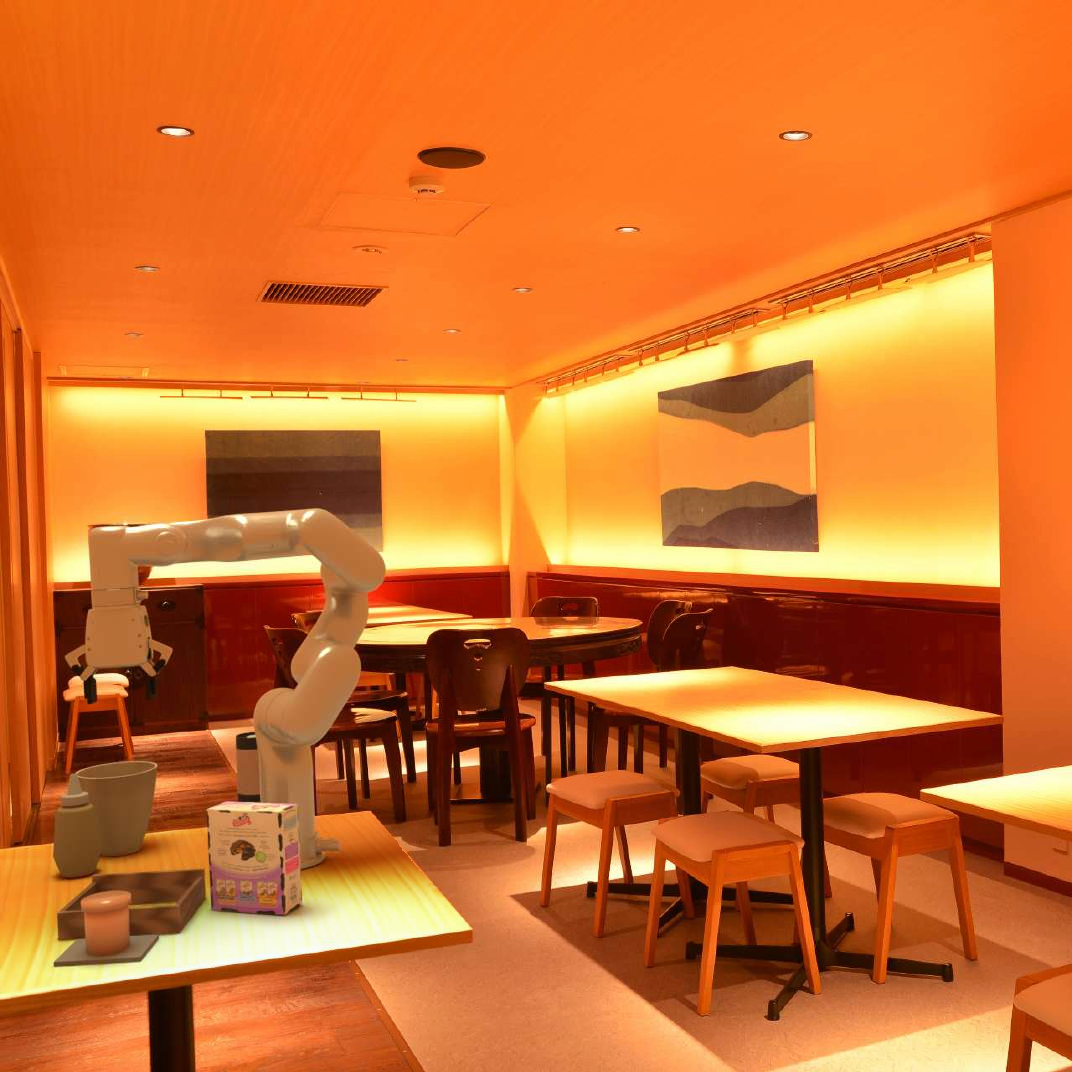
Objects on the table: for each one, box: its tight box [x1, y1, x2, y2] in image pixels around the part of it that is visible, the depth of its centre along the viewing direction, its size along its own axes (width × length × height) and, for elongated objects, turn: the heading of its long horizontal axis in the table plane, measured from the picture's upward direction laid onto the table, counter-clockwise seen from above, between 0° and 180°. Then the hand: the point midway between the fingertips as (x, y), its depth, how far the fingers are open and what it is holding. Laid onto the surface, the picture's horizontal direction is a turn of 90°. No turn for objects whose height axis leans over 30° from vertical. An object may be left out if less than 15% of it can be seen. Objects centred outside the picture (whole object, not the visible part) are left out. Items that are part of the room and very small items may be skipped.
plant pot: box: [75, 760, 158, 857], centre depth 217 cm, size 15×15×16 cm
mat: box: [53, 934, 160, 967], centre depth 162 cm, size 12×9×1 cm
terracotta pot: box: [81, 891, 131, 956], centre depth 162 cm, size 7×7×7 cm
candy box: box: [205, 801, 303, 916], centre depth 179 cm, size 14×6×16 cm, turn 71°
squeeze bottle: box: [52, 773, 101, 879], centre depth 203 cm, size 8×8×18 cm
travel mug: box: [235, 731, 261, 803], centre depth 226 cm, size 8×8×20 cm
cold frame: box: [56, 868, 207, 941], centre depth 177 cm, size 18×16×5 cm
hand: (121, 701), depth 188 cm, fingers open, 9 cm apart
